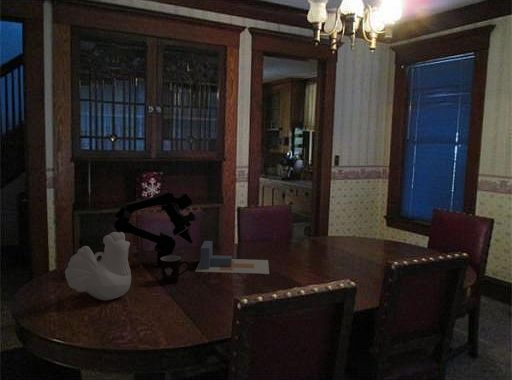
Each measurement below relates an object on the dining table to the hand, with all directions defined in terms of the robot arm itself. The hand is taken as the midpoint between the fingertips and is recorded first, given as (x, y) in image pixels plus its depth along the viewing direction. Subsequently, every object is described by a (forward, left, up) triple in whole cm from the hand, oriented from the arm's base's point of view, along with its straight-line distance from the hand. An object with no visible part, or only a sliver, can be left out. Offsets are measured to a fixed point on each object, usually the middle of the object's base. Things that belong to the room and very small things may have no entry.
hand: (191, 242), depth 204 cm
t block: (+3, -12, -11) cm, 16 cm away
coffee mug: (-25, -2, -11) cm, 27 cm away
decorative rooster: (-51, +16, -11) cm, 54 cm away
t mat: (+5, -19, -11) cm, 23 cm away
